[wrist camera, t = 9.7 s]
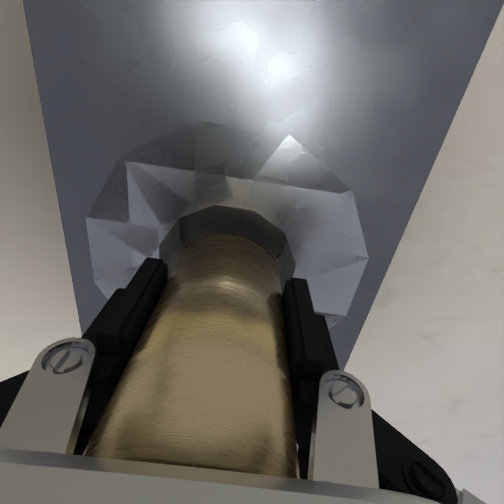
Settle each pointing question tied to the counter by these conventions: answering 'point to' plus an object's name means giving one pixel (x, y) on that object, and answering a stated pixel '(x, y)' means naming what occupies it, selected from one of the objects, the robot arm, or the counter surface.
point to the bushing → (208, 370)
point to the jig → (249, 129)
